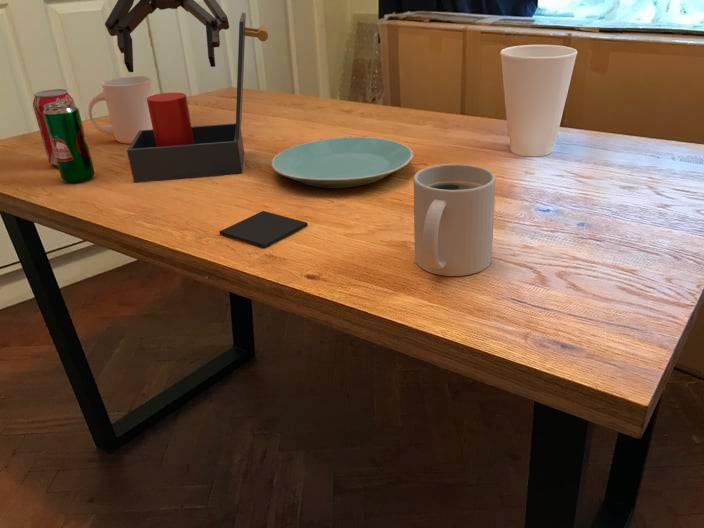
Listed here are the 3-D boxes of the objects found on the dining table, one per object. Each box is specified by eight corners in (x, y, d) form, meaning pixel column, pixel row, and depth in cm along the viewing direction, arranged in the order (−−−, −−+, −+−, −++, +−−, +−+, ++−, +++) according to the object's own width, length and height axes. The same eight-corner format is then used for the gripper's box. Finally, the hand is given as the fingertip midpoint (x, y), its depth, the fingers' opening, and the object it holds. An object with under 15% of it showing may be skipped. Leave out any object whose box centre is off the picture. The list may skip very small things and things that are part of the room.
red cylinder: (165, 172, 106) (151, 103, 100) (156, 163, 110) (142, 96, 105) (202, 165, 108) (190, 97, 103) (191, 156, 113) (179, 90, 107)
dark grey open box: (134, 182, 104) (126, 150, 101) (145, 160, 114) (139, 130, 111) (242, 173, 106) (237, 141, 103) (244, 152, 116) (240, 122, 113)
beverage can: (49, 161, 115) (29, 91, 109) (87, 155, 117) (69, 86, 112) (51, 171, 110) (30, 98, 104) (91, 164, 112) (72, 93, 107)
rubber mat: (219, 234, 85) (219, 231, 84) (263, 214, 90) (263, 210, 90) (264, 248, 80) (264, 244, 80) (307, 225, 86) (307, 222, 86)
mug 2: (463, 236, 81) (465, 158, 77) (511, 266, 74) (516, 181, 69) (385, 257, 77) (382, 176, 72) (428, 291, 70) (428, 202, 65)
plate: (244, 176, 105) (242, 158, 103) (347, 143, 118) (346, 128, 117) (337, 210, 91) (336, 190, 89) (442, 169, 104) (442, 151, 103)
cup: (532, 136, 118) (539, 42, 110) (583, 151, 109) (594, 50, 101) (481, 148, 113) (484, 50, 105) (529, 166, 104) (537, 60, 96)
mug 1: (96, 137, 128) (82, 80, 122) (160, 129, 131) (149, 74, 126) (96, 149, 121) (80, 89, 115) (163, 140, 124) (152, 82, 119)
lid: (239, 21, 95) (268, 25, 96) (242, 12, 105) (268, 16, 106) (235, 139, 103) (262, 141, 104) (238, 120, 113) (262, 123, 114)
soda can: (55, 181, 106) (33, 105, 100) (83, 171, 109) (64, 98, 103) (74, 186, 103) (53, 109, 97) (102, 176, 107) (83, 101, 101)
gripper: (238, -27, 122) (248, 72, 116) (98, -20, 119) (100, 82, 113) (233, -59, 115) (243, 45, 109) (83, -52, 112) (85, 55, 106)
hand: (170, 64), depth 111 cm, fingers open, 13 cm apart
